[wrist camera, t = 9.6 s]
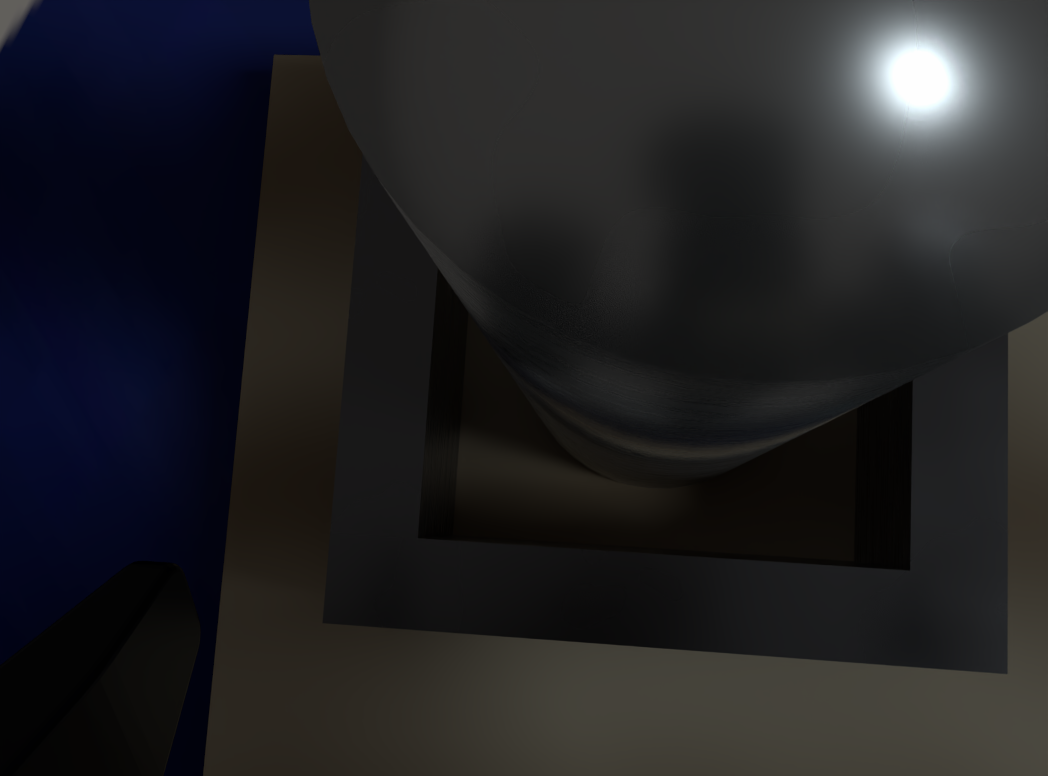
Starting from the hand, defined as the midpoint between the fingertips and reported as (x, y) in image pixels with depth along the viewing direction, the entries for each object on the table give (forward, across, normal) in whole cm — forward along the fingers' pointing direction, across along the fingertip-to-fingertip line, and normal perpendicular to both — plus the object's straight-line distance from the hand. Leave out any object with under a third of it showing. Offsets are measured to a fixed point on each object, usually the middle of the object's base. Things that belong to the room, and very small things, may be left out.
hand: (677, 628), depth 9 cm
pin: (+8, 0, +2) cm, 8 cm away
